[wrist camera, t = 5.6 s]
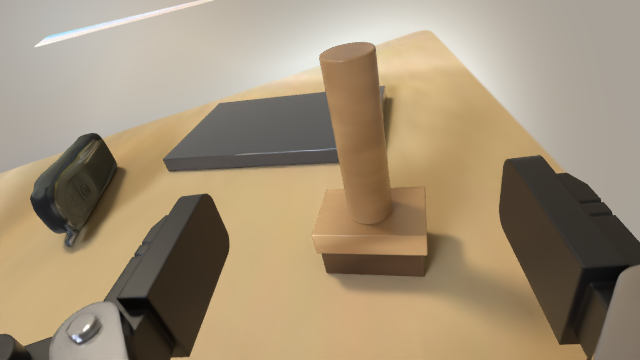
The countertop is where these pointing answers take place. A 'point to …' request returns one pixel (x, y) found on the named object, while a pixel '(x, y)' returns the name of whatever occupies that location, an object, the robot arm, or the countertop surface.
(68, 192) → the dark green rounded bar
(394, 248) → the brush
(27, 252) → the countertop surface
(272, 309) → the countertop surface
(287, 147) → the slate board
